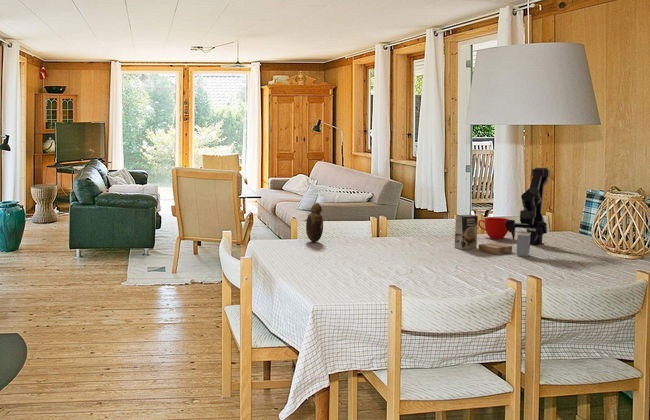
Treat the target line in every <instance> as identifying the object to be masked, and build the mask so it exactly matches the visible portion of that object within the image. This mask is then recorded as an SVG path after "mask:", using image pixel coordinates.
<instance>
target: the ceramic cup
mask: <svg viewBox="0 0 650 420" xmlns="http://www.w3.org/2000/svg"><path fill="white" fill-rule="evenodd" d="M506 220H510V219H509V218H504V217H503V218H502V217H486V218H484V219H479V220H478V224H477V226H478V227H479V229H481V230H483V231H485V232H486V234H487V236H488V237H489V238H490V239H491V240H503V239H504V237H506V235H507V234H508V232H509V231H507V230H506V225H505V222H506ZM481 222H483V224H484V227H483V226H482V225H481Z"/></svg>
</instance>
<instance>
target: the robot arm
mask: <svg viewBox="0 0 650 420" xmlns="http://www.w3.org/2000/svg"><path fill="white" fill-rule="evenodd" d="M530 175H531V176H530V177H531V179H530V185H529V188H527V190H525V192H523V193H522V194H521V197H520V199H521V203H522V204H521V205H522V207H523V209H522V210H520V211H519V212H520V213H519V222H520V223H519V222H516V220H515V219H509V220H506V222H505V225H506V230H507V231H508V232H509V233H511V236H512V241H515V238H516V237H515V236H516V228H521V229H525V230H526V232H531V234H530V246H531V245H532V246H543V245H545V243H544V242H543V235H545V234H547V233H548V223H547V221H546V222H545V218H544V216H543V214H542V209H543V201H544V192H545V191H544V190H545V185H546V184H547V183H548V181H549V178H550V177H551V176H550V175H551V170H550V169H548V167H535V168H533V169H531V174H530Z"/></svg>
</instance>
